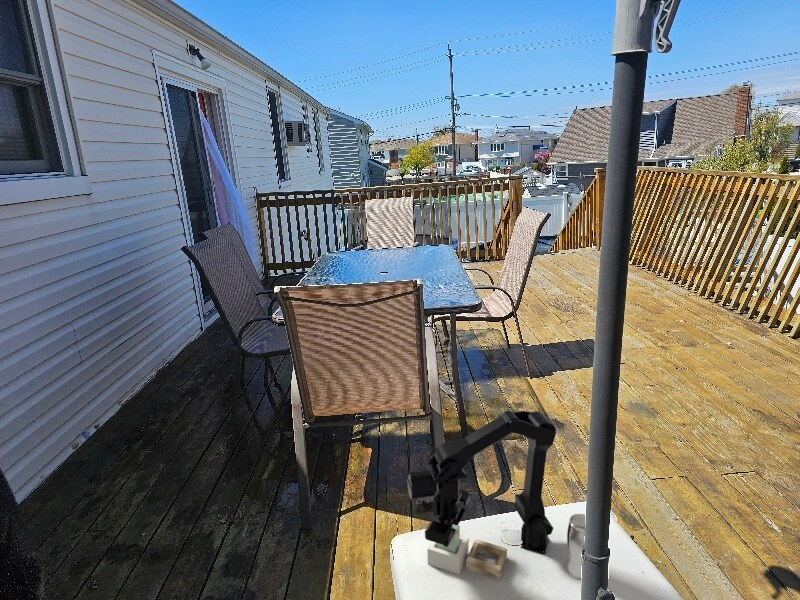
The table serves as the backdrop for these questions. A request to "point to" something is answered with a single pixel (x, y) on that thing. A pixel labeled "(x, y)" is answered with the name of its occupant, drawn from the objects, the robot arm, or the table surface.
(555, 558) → the table surface
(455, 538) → the plug
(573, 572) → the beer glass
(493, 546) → the tan wooden frame
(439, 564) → the socket
